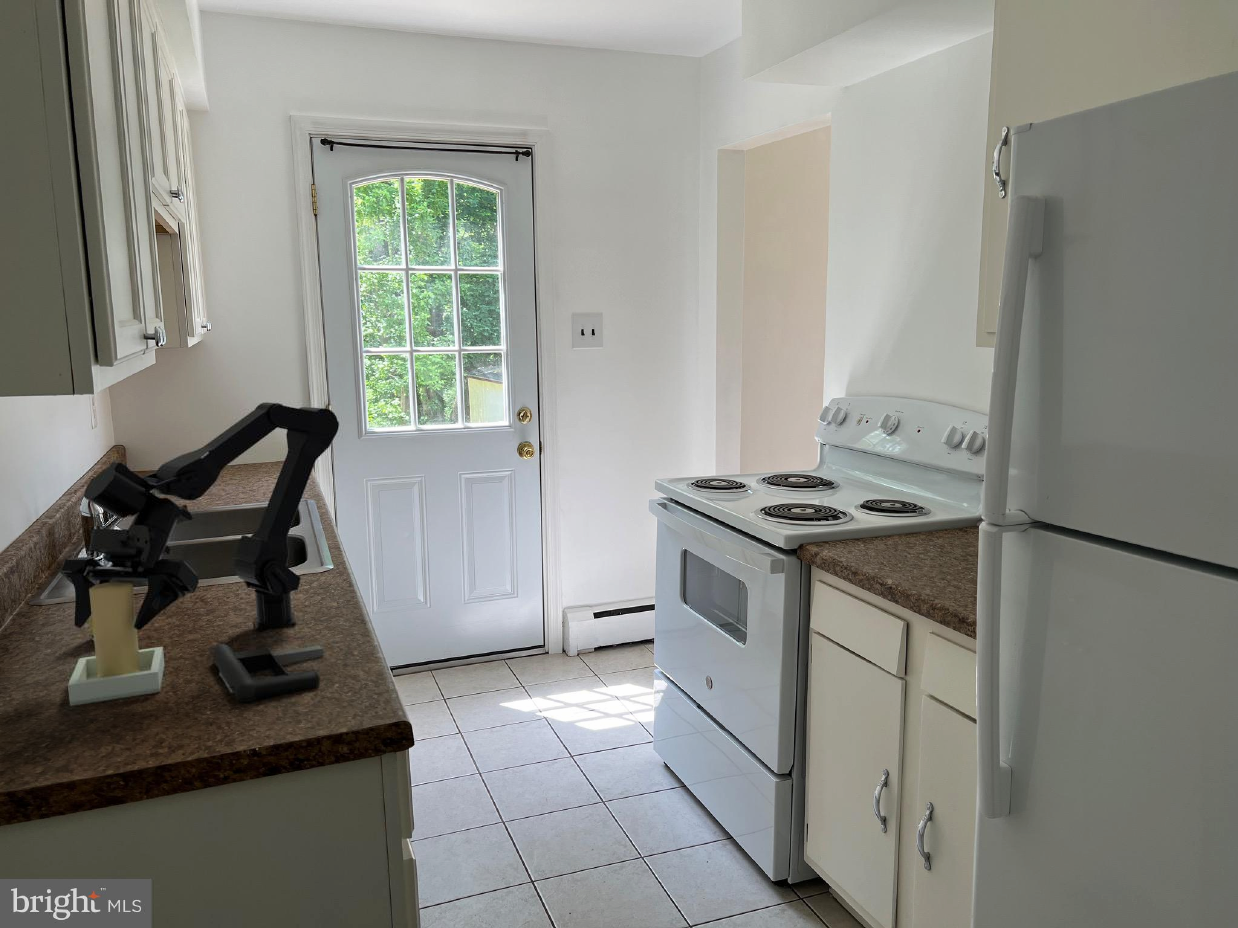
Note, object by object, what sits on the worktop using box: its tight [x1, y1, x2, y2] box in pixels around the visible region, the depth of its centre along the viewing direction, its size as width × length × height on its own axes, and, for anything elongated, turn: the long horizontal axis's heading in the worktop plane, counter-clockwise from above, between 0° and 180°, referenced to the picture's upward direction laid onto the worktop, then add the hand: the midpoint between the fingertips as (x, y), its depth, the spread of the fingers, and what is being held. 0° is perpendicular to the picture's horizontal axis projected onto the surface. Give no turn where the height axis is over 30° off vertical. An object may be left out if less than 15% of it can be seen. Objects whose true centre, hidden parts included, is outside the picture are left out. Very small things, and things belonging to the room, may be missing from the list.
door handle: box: [205, 643, 324, 703], centre depth 134 cm, size 3×20×16 cm
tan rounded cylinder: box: [89, 580, 141, 678], centre depth 129 cm, size 5×5×14 cm
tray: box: [67, 646, 165, 707], centre depth 130 cm, size 11×11×3 cm
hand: (106, 627), depth 127 cm, fingers open, 9 cm apart
